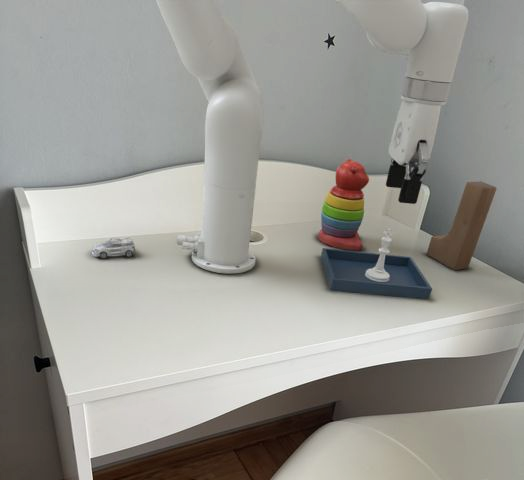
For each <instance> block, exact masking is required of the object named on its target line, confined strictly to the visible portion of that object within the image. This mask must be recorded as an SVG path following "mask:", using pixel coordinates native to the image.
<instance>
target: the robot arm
mask: <svg viewBox="0 0 524 480" xmlns="http://www.w3.org/2000/svg"><path fill="white" fill-rule="evenodd" d="M334 1H335V2H336V3H337V4H338V5H339V6H340V7H342V9H344V10H345V11H346V12H347V13H348V14H350V15H351V16H352V18H353V19H355V21H357V23H359V24H360V25H361V27H362V28H364V33H365V36H366V39H367V40H368V42H369V43H370V45H372V47H374V48H375V49H376V50H379V51H382V52H384V53H389V54H392V55H393V54H394V55H401V54H406V53H408V52H409V58H408V62H407V67H406V71H405V74H404V76H405V77H404V80H403V85H402V89H401V94H400V99H401V103H400V107H399V110H398V113H397V117H396V120H395V124H394V126H393V131H392V135H391V139H390V143H389V147H388V155H389V156H390V157H391V158H390V165H389V168H388V173H387V177H386V181H385V186H386V187H387V188H395V189H400V191H399V195H398V200H397V201H398V202H399V203H400V204H409V205H410V204H411V205H416V204H417V202H418V199H419V195H420V191H421V189H422V188H421V187H422V183H423V181H424V179H425V174H426V172H427V167H428V165H429V163H430V158H431V154H432V151H433V147H434V143H435V139H436V135H437V130H438V125H439V120H440V116H441V115H440V114H441V110H442V109H441V108H442V106H446V104H447V101H448V97H449V93H450V89H451V85H452V82H453V78H454V75H455V71H456V67H457V65H458V61H459V60H458V59H459V56H460V52H461V48H462V44H463V41H464V37H465V32H466V28H467V26H468V21H469V16H470V15H469V10H468V8H467V6H465V5H463V4H459V3H453V2H452V3H451V2H445V1H444V2H442V1H429V2H426V3H423V2H422V0H334ZM155 2H156V4H157V7H158V10H159V12H160V14H161V16H162V19H163V21H164V23H165V26H166V28H167V30H168V32H169V34H170V37H171V39H172V41H173V43H174V46H175V48H176V51H177V53H178V56H179V58H180V61H181V63H182V64H183V66H184V68H185V70H187V72H189V74H191V75H192V76H193V77H195V78H196V79H197V81H198V83H199V85H200V88H201V90H202V92H203V94H204V96H205V98H206V100H207V102H208V104H207V108H206V112H205V120H204V121H205V122H204V163H203V164H204V166H203V186H202V187H203V189H202V205H201V206H202V207H201V225H200V231H199V234H198V235H194V236H188V235H181V234H178V235H177V239H176V240H177V241H176V244H177V246H181V249H182V250H185V251H186V250H187V251H188V250H190V251H192V252H191V260H192V262H193V264H195V265H196V266H197V267H199V268H201V269H203V270H205V271H209V272H213V273H218V274H227V275H228V274H229V275H230V274H232V275H233V274H241V273H245V272H248V271H250V270H252V269H253V268H254V267H255V265H256V256H255V254H254V253H253V252H252V251H250V242H251V234H252V233H251V232H252V225H253V216H254V206H255V198H256V197H255V196H256V189H257V188H256V187H257V176H258V169H259V168H258V167H259V159H260V151H261V142H262V137H263V129H264V119H265V110H264V109H265V107H264V106H265V105H264V100H263V97H262V93H261V91H260V88H259V86H258V83H257V81H256V78H255V76H254V73H253V72H252V69H251V66H250V63H249V61H248V59H247V56H246V53H245V51H244V49H243V45H242V43H241V42H240V39H239V37H238V34H237V32H236V30H235V27H234V26H233V25H232V24H231V22H230V21H229V20H228V19H227V18H226V17H224V16H223V14H222V11H221V8H220V7H219V5H218V3H217V0H155Z"/></svg>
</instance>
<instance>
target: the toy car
mask: <svg viewBox="0 0 524 480" xmlns="http://www.w3.org/2000/svg"><path fill="white" fill-rule="evenodd" d="M133 254H136V247H135V243H134V240H133V239H132V238H131V237H126V238H120V237H111V238H109V239H108V240H106V241H104V242H99V243H96V244H94V245H93V247H92V251H91V255H92V256H93V257H99V258H100V259H102V260H103V259H107V257H121V256H125V257H126V258H131V257H132V256H133Z"/></svg>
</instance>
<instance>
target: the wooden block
mask: <svg viewBox="0 0 524 480" xmlns="http://www.w3.org/2000/svg"><path fill="white" fill-rule="evenodd" d="M496 192H497V187H496V186H494V185H492V184H489V183H486V182H483V181H467V182H466V183H465V186H464V188H463V192H462V195H461V199H460V202H459V204H458V207H457V211H456V214H455V217H454V219H453V222H452V226H451V228H450V230H449V232H448V233H447V234H441V235H433V236H431V238H430V240H429V243H428V248H427V250H426V256H429V257H430V258H432V259H434V260H436V261H437V262H439V263H441V264H443V265H445V266H446V267H448V268H450V269H452V270H453V271H458V270H465V269H468V268H469V266H470V264H471V261H472V258H473V255H474V252H475V250H476V247H477V244H478V241H479V239H480V236H481V233H482V231H483V227H484V225H485V222H486V220H487V217H488V214H489V211H490V208H491V206H492V203H493V200H494V197H495V195H496Z"/></svg>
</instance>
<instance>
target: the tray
mask: <svg viewBox="0 0 524 480" xmlns="http://www.w3.org/2000/svg"><path fill="white" fill-rule="evenodd" d="M380 254H381V253H375V252H367V251H355V250H346V249H338V248H337V249H336V248H327V247H322V250H321V256H320V261H321V264H322V267H323V270H324V273H325V277H326V280H327V284H328V287H329V290H330V291H336V292H345V293H355V294H356V293H357V294H368V295H377V296H387V297H388V296H389V297H397V298H408V299H419V300H430V297H431V294H432V292H433V287H432V286H431V284H430V283H429V281H428V280H427V278H426V277H425V275H424V274H423V272H422V271H421V269H420V268H419V267H418V266H417V264H416V262H415V261H414V259H413V258H412V257H411V256H404V255H394V254H386V255H385V261H384V270H385V271H386V272H387V273H388V274H389V275H390V277H389V281H387V282H377V281H373V280H370V279H369V278H367V277H366V276H365V273H366V271H367V270H368V269H371V268H374V267H375V266H376V264H377V262H378V259H379V256H380Z"/></svg>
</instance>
